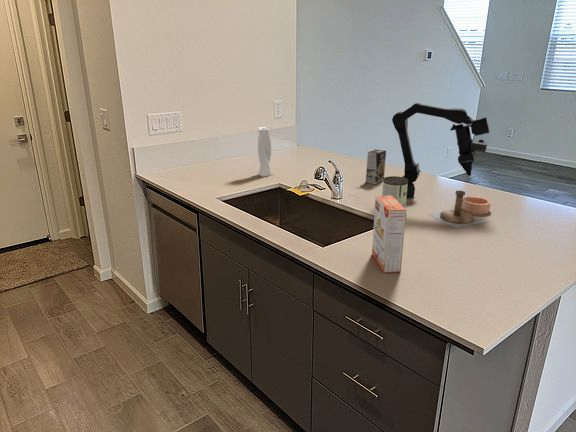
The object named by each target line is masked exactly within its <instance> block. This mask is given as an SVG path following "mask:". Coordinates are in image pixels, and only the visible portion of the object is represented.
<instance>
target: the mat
mask: <svg viewBox="0 0 576 432" xmlns="http://www.w3.org/2000/svg"><path fill="white" fill-rule="evenodd" d="M441 212H442V211H441ZM441 212H435V213H430V214H428V216H429V217H432V218H433V219H436V220H438V221H440V222H442V223H445V224H447V225H449V226H451V227H453V228H455V229H456V228H457V229H458V228H463V227H468V226H473V225H477V224H482V223H487V221H486V220H484V219H481V218H478V217H477V216H474V221H473V222H472V223H468V224H457V223H451V222H447V221H445V220H443V219H441V218H440V213H441Z"/></svg>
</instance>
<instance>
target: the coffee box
mask: <svg viewBox="0 0 576 432" xmlns="http://www.w3.org/2000/svg"><path fill="white" fill-rule="evenodd" d="M386 155H387V150H385V149H384V150H383V149H373V150H370V151H367V161H366V174H365V183H369V184H374V185H377V184H379V183H383V178H385V169H386V158H387V157H386Z"/></svg>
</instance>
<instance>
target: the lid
mask: <svg viewBox="0 0 576 432" xmlns="http://www.w3.org/2000/svg"><path fill="white" fill-rule="evenodd" d="M454 194H455V195H456V197H455V204H454V209H446V210H443V211H441V213H440V212H439V213H440V218H441V219H443V220H445V221H447V222H451V223H457V224H468V223H472V222H473V221H474V217H475V216H474V215H473V213H469V212H466V211H464V210H462V203H463V198H464V196H466V192H465V191H464V190H455V193H454Z"/></svg>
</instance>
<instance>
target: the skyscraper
mask: <svg viewBox="0 0 576 432" xmlns="http://www.w3.org/2000/svg"><path fill="white" fill-rule="evenodd" d="M270 131H271V126H270V124H267V126H262V127H261V126H259V127H258V129H257V132H258V138H257V155H258V162H259V171H258V173H257V174H256V175H258V176H260V177H262V178H267V177H272V176H274V174H273V173H272V172H271V169H270V162H271V157H272V156H271V155H272V141H271V136H270Z"/></svg>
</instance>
